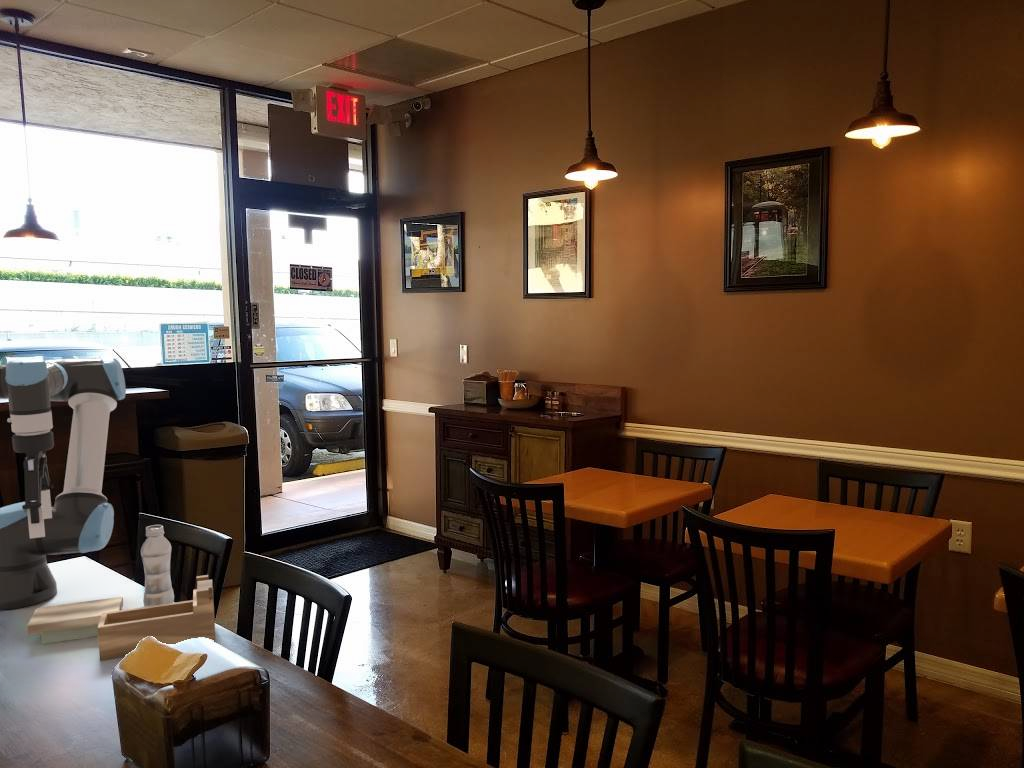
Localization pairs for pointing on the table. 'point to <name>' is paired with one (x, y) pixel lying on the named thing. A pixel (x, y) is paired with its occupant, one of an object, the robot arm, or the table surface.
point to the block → (206, 586)
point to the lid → (71, 615)
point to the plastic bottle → (157, 567)
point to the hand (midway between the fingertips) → (41, 527)
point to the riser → (69, 634)
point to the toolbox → (156, 624)
